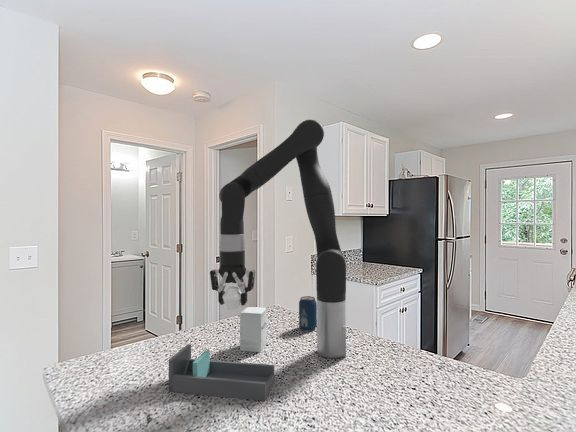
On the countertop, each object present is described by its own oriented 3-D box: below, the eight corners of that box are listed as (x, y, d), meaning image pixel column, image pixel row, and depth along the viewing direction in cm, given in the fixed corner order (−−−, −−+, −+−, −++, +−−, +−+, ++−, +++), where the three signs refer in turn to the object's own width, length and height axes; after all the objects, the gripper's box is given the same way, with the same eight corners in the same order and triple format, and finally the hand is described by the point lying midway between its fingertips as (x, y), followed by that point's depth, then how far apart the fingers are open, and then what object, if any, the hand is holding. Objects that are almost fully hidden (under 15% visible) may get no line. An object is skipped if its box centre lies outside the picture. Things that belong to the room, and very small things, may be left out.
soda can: (315, 325, 129) (315, 295, 130) (317, 331, 123) (317, 300, 123) (298, 325, 129) (298, 296, 129) (299, 331, 122) (299, 300, 122)
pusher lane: (274, 379, 86) (274, 350, 86) (265, 400, 76) (265, 367, 76) (187, 372, 91) (187, 344, 91) (168, 391, 81) (168, 359, 81)
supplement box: (261, 352, 104) (260, 313, 104) (239, 351, 105) (239, 312, 105) (267, 344, 111) (267, 307, 111) (246, 342, 112) (246, 306, 112)
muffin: (224, 312, 93) (224, 288, 93) (221, 306, 99) (220, 283, 99) (245, 309, 95) (245, 286, 95) (240, 304, 101) (240, 282, 101)
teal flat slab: (209, 372, 88) (209, 350, 88) (197, 386, 81) (197, 362, 81) (205, 371, 88) (205, 350, 88) (192, 386, 81) (192, 362, 81)
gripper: (258, 248, 100) (259, 302, 99) (215, 247, 102) (215, 300, 102) (251, 250, 92) (251, 309, 92) (204, 250, 95) (205, 307, 95)
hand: (232, 304), depth 97 cm, fingers closed on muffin, 6 cm apart
